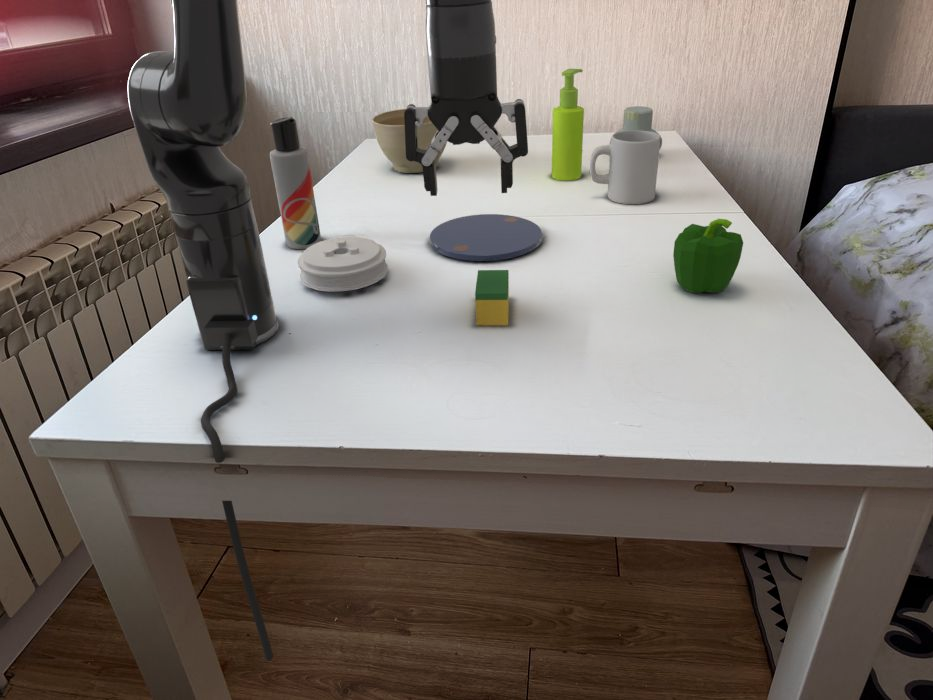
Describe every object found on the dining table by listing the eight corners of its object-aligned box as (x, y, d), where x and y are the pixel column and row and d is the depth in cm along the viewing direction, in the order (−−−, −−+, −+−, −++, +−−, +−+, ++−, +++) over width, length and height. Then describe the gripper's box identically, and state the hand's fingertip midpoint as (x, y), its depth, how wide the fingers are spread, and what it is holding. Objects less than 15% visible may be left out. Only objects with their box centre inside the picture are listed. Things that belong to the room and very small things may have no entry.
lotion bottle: (313, 250, 112) (292, 122, 101) (280, 249, 113) (256, 122, 102) (326, 237, 116) (307, 113, 106) (294, 236, 117) (273, 113, 107)
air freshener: (633, 148, 155) (637, 102, 150) (665, 155, 150) (670, 106, 144) (603, 159, 149) (606, 111, 144) (635, 166, 143) (639, 116, 138)
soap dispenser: (587, 172, 141) (592, 67, 131) (573, 182, 136) (577, 73, 126) (561, 169, 144) (564, 66, 134) (546, 178, 139) (548, 72, 129)
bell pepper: (656, 281, 96) (664, 212, 91) (704, 269, 99) (714, 202, 94) (696, 306, 90) (707, 233, 85) (747, 292, 92) (760, 221, 87)
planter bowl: (410, 154, 159) (406, 104, 154) (467, 163, 151) (465, 111, 145) (362, 172, 148) (355, 119, 143) (420, 183, 140) (416, 128, 134)
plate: (543, 262, 104) (543, 254, 103) (424, 263, 105) (423, 256, 105) (540, 219, 119) (540, 212, 119) (436, 221, 121) (435, 214, 120)
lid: (284, 291, 99) (277, 258, 96) (330, 257, 109) (325, 226, 106) (362, 302, 95) (357, 269, 92) (403, 266, 105) (400, 235, 102)
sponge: (508, 325, 87) (507, 293, 85) (476, 325, 88) (475, 293, 85) (508, 300, 93) (508, 269, 91) (479, 300, 94) (478, 270, 91)
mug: (650, 188, 131) (655, 129, 125) (659, 204, 123) (665, 141, 118) (586, 190, 131) (588, 131, 126) (590, 205, 124) (593, 143, 118)
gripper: (392, 58, 73) (407, 206, 82) (528, 50, 72) (529, 200, 81) (400, 47, 79) (414, 185, 88) (525, 40, 79) (526, 180, 87)
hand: (469, 192), depth 84 cm, fingers open, 8 cm apart
